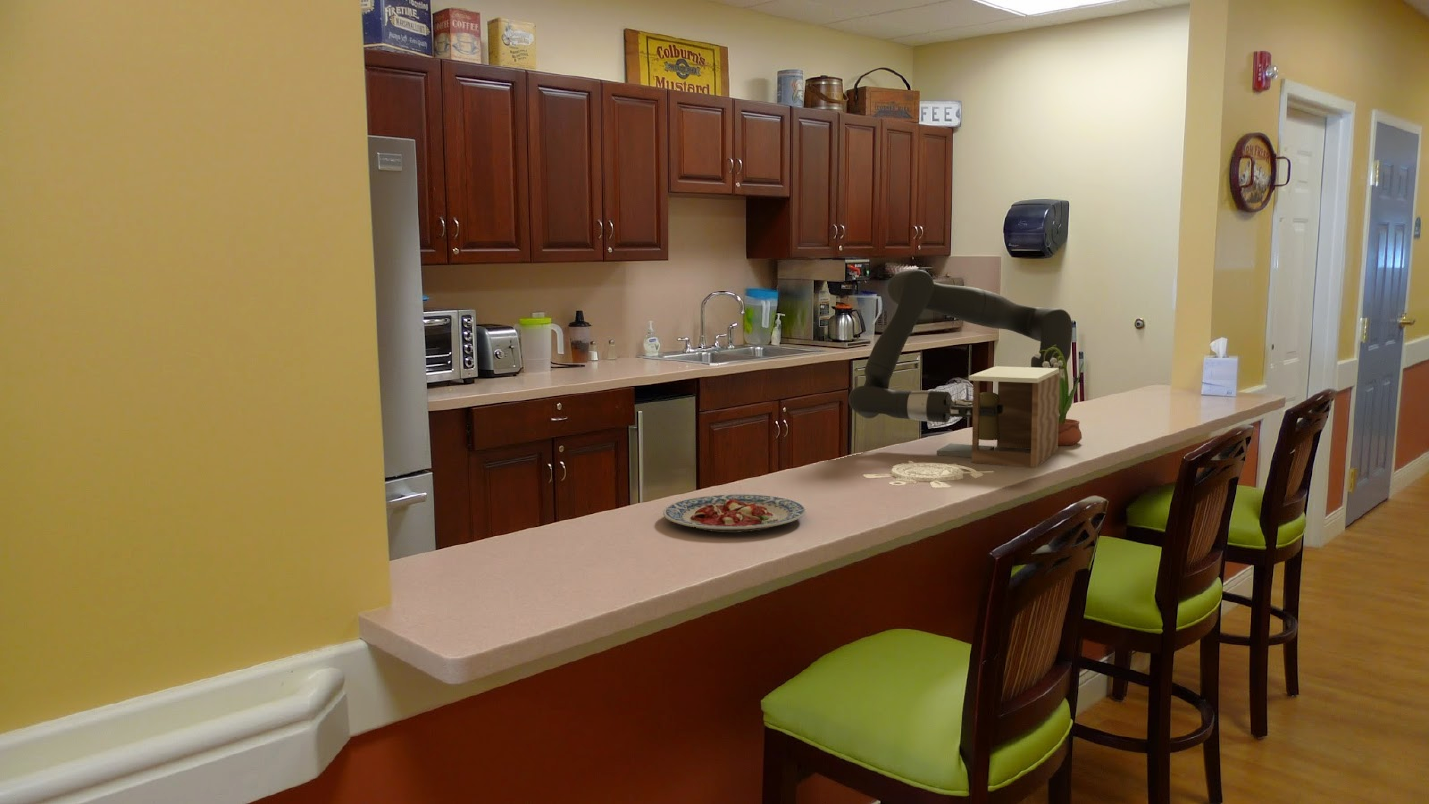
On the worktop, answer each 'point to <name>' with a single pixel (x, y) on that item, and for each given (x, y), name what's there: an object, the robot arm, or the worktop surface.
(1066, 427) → the potted flower
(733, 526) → the ceramic plate
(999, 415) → the wooden cabinet
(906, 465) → the pendant
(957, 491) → the worktop surface
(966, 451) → the slate mat
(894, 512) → the worktop surface
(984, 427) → the cork
